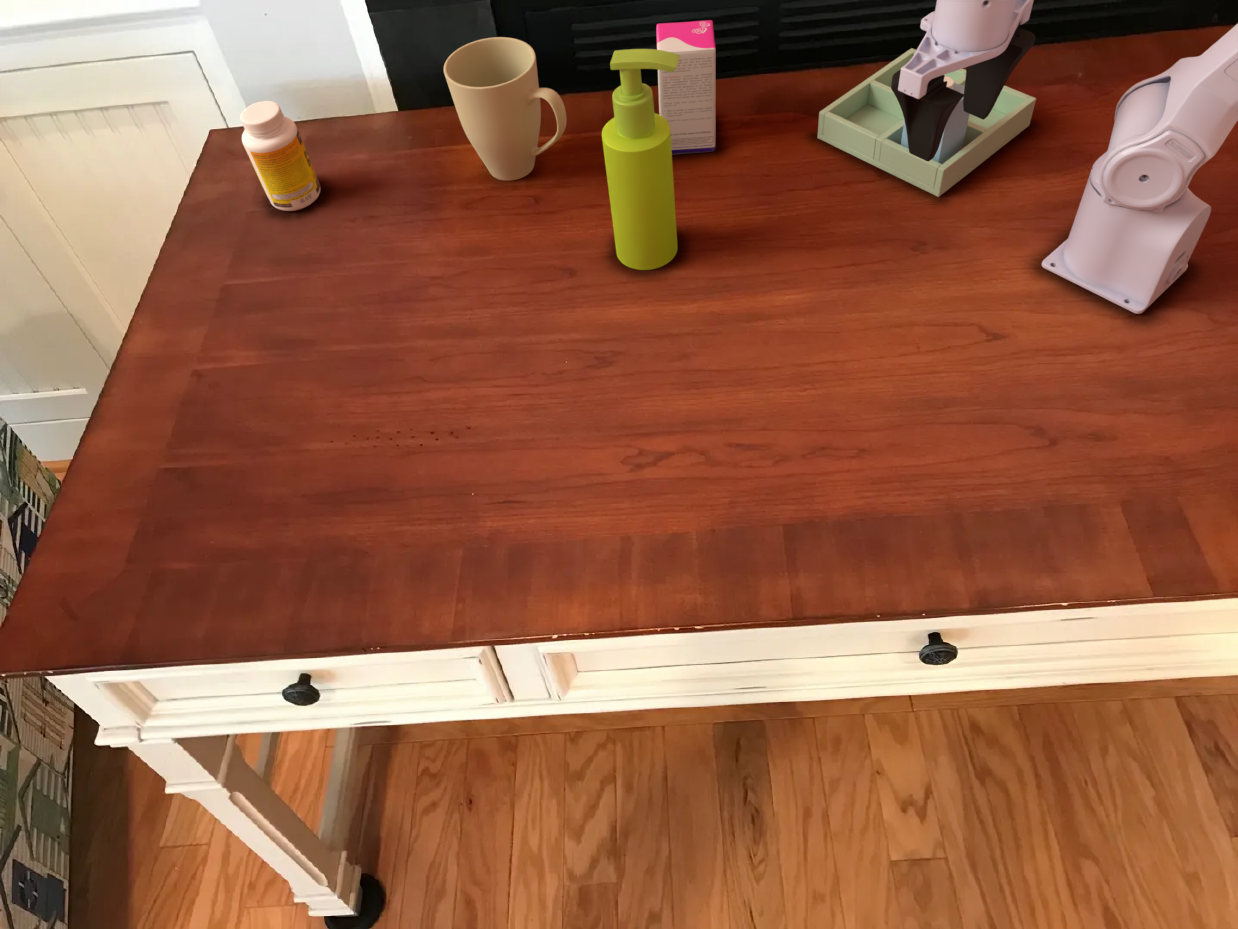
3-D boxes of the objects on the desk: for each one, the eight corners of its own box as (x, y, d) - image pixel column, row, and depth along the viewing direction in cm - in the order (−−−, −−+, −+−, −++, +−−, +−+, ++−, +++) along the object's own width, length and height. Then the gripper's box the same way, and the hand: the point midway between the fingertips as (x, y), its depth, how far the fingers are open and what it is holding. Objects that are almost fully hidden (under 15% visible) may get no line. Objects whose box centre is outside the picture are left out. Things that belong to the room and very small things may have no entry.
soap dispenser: (683, 272, 92) (672, 76, 76) (611, 268, 93) (585, 74, 77) (692, 231, 95) (683, 35, 79) (622, 228, 96) (600, 34, 80)
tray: (1029, 125, 100) (1036, 98, 98) (938, 197, 95) (943, 170, 92) (907, 73, 108) (911, 47, 105) (817, 137, 102) (818, 111, 100)
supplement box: (717, 152, 102) (715, 48, 93) (661, 156, 103) (653, 54, 94) (714, 119, 106) (712, 17, 97) (660, 123, 106) (652, 22, 97)
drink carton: (961, 154, 97) (976, 80, 91) (936, 173, 96) (950, 99, 89) (923, 136, 99) (936, 63, 93) (898, 155, 98) (909, 82, 91)
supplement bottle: (331, 196, 104) (297, 110, 96) (286, 220, 102) (247, 135, 94) (307, 173, 107) (271, 88, 99) (261, 197, 105) (222, 113, 97)
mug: (472, 205, 101) (445, 100, 91) (468, 148, 107) (442, 44, 97) (577, 187, 101) (561, 81, 91) (567, 132, 107) (550, 27, 98)
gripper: (992, -78, 77) (960, 79, 88) (875, -2, 72) (856, 155, 83) (1073, -52, 74) (1029, 108, 85) (956, 29, 69) (925, 189, 80)
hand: (948, 134), depth 84 cm, fingers open, 7 cm apart
